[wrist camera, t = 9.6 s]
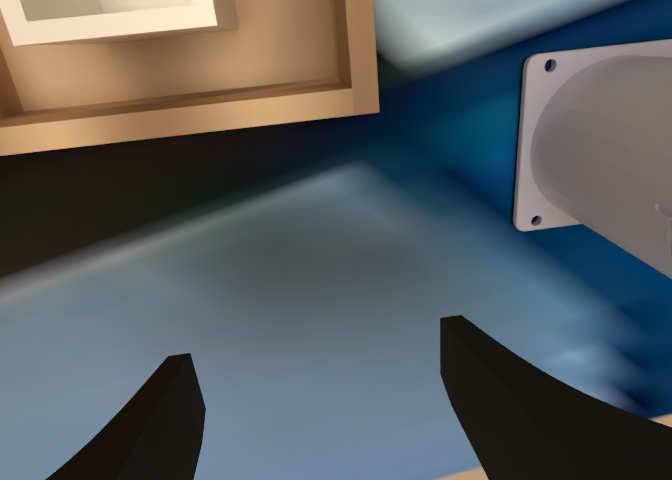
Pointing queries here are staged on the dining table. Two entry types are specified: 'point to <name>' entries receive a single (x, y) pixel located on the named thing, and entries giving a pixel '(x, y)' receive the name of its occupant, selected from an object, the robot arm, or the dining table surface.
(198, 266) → the dining table surface
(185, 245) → the dining table surface
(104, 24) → the small crate
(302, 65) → the big crate
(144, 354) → the dining table surface
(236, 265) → the dining table surface
